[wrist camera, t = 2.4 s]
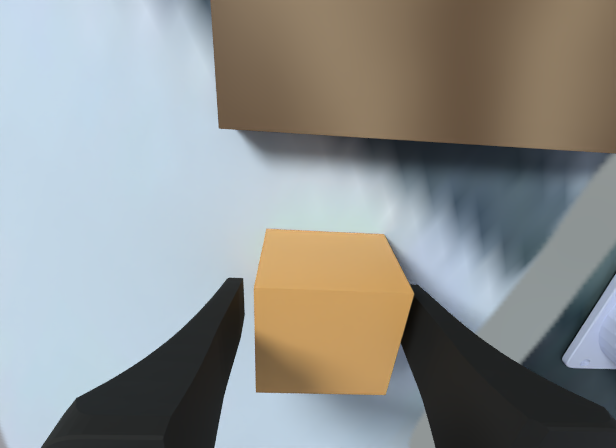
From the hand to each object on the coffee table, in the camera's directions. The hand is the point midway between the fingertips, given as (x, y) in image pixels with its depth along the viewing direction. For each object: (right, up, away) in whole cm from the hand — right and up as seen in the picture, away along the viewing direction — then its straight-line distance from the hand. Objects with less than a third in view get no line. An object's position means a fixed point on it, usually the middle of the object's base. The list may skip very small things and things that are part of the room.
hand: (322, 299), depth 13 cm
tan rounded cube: (0, +1, +1) cm, 1 cm away
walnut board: (+5, +14, -5) cm, 16 cm away
